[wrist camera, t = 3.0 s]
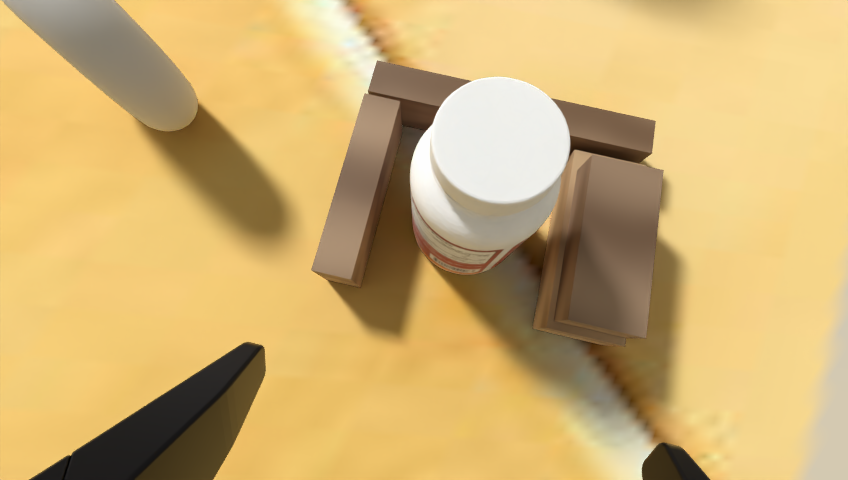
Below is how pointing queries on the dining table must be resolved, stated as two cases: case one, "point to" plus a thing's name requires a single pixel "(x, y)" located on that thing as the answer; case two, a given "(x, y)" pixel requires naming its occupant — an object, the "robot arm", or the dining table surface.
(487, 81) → the pill bottle
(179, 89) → the grey rounded piece
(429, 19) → the dining table surface
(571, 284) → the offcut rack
